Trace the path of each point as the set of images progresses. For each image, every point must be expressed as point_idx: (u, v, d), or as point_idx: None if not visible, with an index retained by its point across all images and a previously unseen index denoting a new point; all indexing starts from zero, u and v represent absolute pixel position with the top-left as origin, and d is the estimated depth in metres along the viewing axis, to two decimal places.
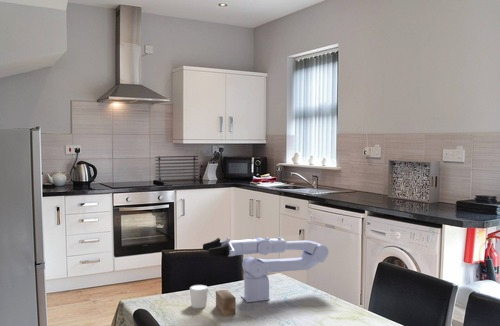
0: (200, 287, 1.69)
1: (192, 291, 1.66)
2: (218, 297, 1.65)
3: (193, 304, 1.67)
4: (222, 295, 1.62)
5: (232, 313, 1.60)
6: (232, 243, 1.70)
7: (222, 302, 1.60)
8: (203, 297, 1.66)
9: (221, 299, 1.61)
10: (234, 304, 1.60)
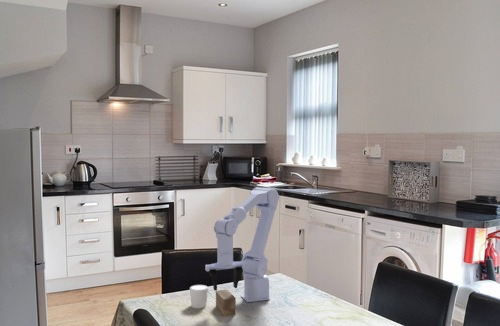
0: (200, 287, 1.69)
1: (192, 291, 1.66)
2: (218, 297, 1.65)
3: (193, 304, 1.67)
4: (222, 295, 1.62)
5: (232, 313, 1.60)
6: (231, 262, 1.62)
7: (222, 302, 1.60)
8: (203, 297, 1.66)
9: (221, 299, 1.61)
10: (234, 304, 1.60)
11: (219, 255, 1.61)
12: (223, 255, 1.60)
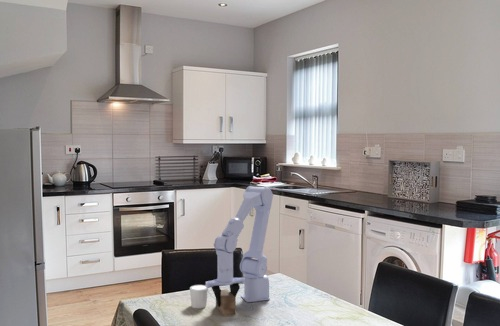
0: (200, 287, 1.69)
1: (192, 291, 1.66)
2: None
3: (193, 304, 1.67)
4: (222, 295, 1.62)
5: (232, 313, 1.60)
6: (231, 279, 1.62)
7: (222, 302, 1.60)
8: (203, 297, 1.66)
9: (221, 299, 1.61)
10: (234, 304, 1.60)
11: (219, 272, 1.62)
12: (223, 272, 1.61)
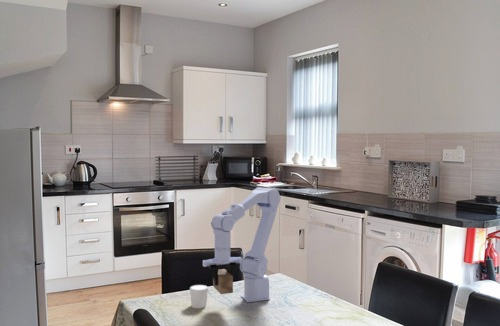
0: (200, 287, 1.69)
1: (192, 291, 1.66)
2: None
3: (193, 304, 1.67)
4: (219, 274, 1.62)
5: (229, 291, 1.60)
6: (228, 258, 1.62)
7: (219, 280, 1.60)
8: (203, 297, 1.66)
9: (218, 278, 1.61)
10: (231, 282, 1.60)
11: (216, 250, 1.62)
12: (220, 250, 1.61)
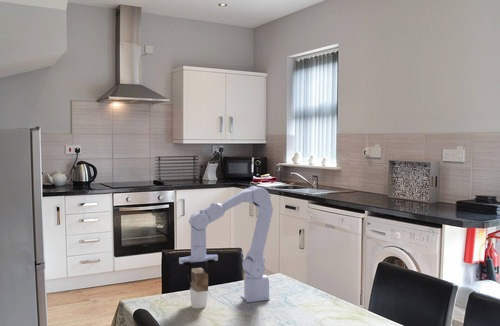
0: None
1: (192, 291, 1.66)
2: (192, 274, 1.69)
3: (193, 304, 1.67)
4: (195, 272, 1.67)
5: (204, 289, 1.64)
6: (204, 255, 1.67)
7: (195, 278, 1.64)
8: (203, 297, 1.66)
9: (194, 276, 1.66)
10: (206, 280, 1.64)
11: (192, 248, 1.66)
12: (196, 248, 1.65)
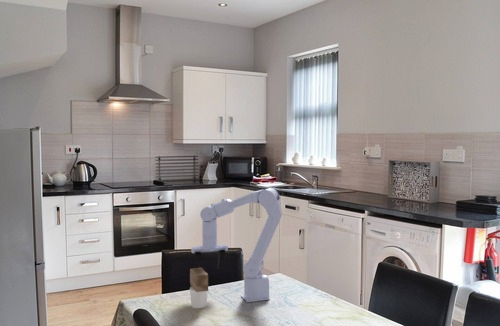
0: None
1: (192, 291, 1.66)
2: (192, 274, 1.69)
3: (193, 304, 1.67)
4: (195, 272, 1.67)
5: (205, 289, 1.64)
6: (215, 245, 1.78)
7: (195, 278, 1.64)
8: (203, 297, 1.66)
9: (194, 276, 1.66)
10: (207, 280, 1.64)
11: (203, 239, 1.78)
12: (207, 239, 1.77)
